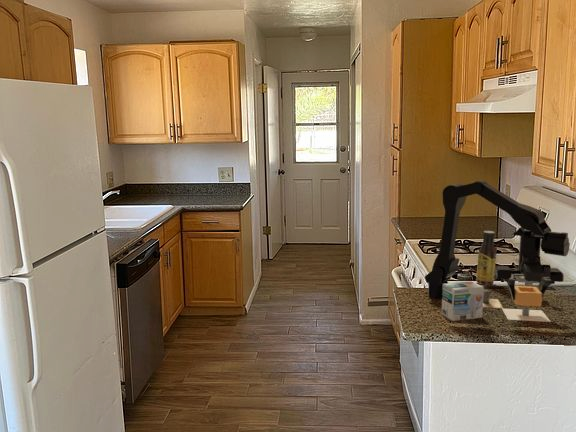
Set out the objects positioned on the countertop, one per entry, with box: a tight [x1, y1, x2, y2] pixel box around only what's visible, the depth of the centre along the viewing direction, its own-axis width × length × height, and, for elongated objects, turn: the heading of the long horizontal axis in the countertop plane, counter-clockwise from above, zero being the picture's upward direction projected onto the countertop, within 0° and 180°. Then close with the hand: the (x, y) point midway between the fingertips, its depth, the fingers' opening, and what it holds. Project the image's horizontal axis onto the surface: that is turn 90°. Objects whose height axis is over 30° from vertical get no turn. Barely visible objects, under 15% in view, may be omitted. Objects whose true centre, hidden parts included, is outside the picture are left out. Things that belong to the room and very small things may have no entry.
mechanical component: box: [514, 268, 539, 287], centre depth 186 cm, size 3×10×10 cm, turn 78°
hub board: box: [501, 306, 552, 323], centre depth 169 cm, size 12×10×4 cm
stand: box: [483, 289, 504, 309], centre depth 180 cm, size 9×9×5 cm
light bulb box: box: [440, 280, 485, 324], centre depth 168 cm, size 11×7×11 cm, turn 106°
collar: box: [512, 285, 543, 308], centre depth 168 cm, size 7×7×4 cm
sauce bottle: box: [476, 230, 497, 286], centre depth 204 cm, size 6×6×20 cm
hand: (526, 300), depth 169 cm, fingers closed on collar, 7 cm apart
